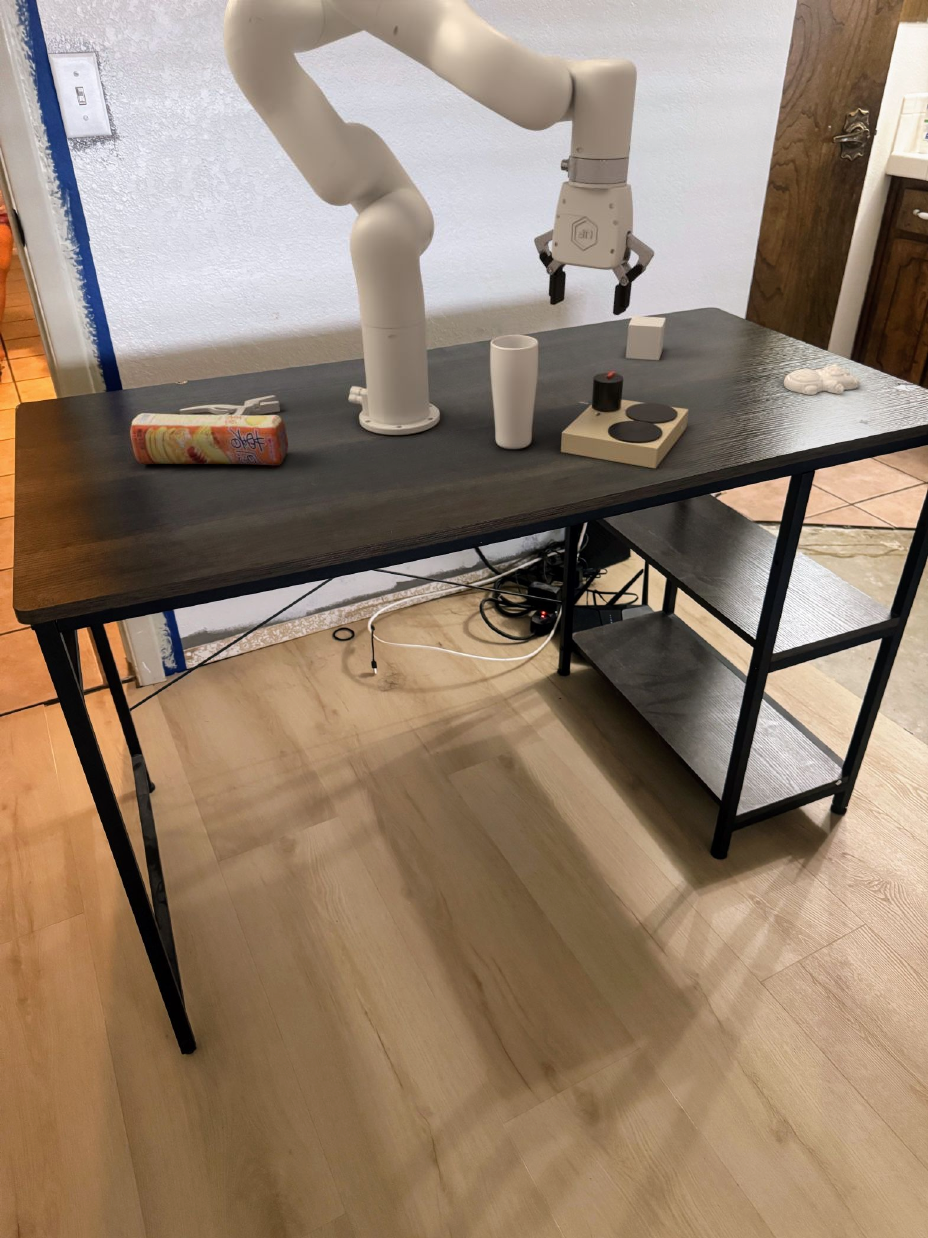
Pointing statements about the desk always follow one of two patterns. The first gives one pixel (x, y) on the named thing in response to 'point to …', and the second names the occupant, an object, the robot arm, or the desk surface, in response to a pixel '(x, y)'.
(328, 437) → the desk surface
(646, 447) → the hot plate
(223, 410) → the pliers
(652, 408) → the burner
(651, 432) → the burner
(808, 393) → the astronaut figurine
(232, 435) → the snack package
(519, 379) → the drinking glass
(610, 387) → the hob knob
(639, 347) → the white cube
